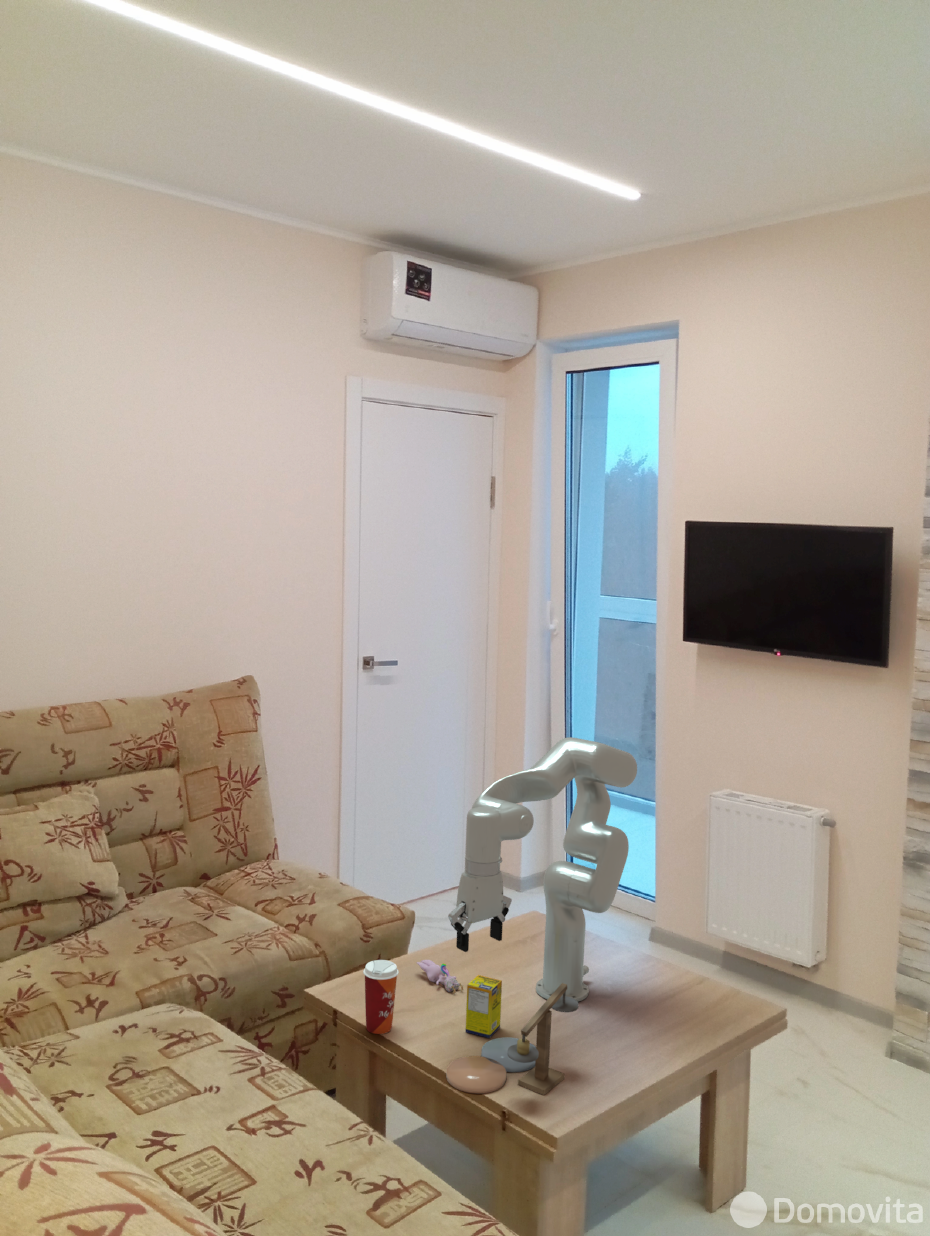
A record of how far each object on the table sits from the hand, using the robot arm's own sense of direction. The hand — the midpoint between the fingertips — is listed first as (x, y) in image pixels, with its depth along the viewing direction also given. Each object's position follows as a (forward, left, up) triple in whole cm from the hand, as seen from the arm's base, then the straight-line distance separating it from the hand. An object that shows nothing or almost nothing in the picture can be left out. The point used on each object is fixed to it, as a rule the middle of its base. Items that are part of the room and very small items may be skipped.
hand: (479, 944), depth 215 cm
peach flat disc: (+13, +9, -21) cm, 26 cm away
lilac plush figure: (-17, -23, -21) cm, 36 cm away
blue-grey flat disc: (+2, +10, -21) cm, 23 cm away
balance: (+6, +20, -21) cm, 30 cm away
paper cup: (+10, -19, -21) cm, 30 cm away
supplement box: (-4, -1, -21) cm, 22 cm away
